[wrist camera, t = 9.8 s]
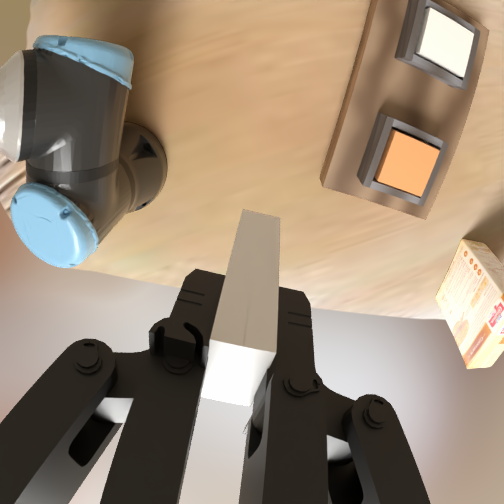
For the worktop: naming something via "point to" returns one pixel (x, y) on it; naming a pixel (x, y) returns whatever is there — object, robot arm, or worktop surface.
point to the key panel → (400, 103)
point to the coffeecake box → (475, 303)
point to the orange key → (406, 163)
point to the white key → (444, 42)
